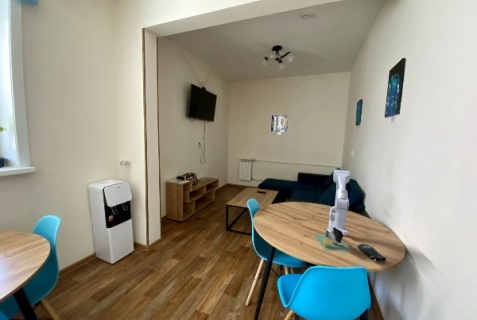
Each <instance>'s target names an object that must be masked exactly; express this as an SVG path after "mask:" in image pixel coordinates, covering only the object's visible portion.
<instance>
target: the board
mask: <svg viewBox="0 0 477 320" xmlns="http://www.w3.org/2000/svg"><path fill="white" fill-rule="evenodd" d="M328 233H329V231H328V230H327V229H325V233H324V234H323V233H313V236H314V237H315V239H316V240H317V241H318V243H319V245H320V246H321V247H322V249H323V250H324V251H326V252H327V251H329V252H338V253H339V252H341V253H354V251H353V250H352V249H351V248H350V247H349V246H348V244H346V243H345V241H343V239H342V240H341V242H342V245H333V244H332V243H331V244H330V248H329V247H324V245H323V239H324V238H329V237H331V236H330V235H329V234H328ZM332 233H333V234H334V231H333V230H332ZM334 235H335V234H334Z"/></svg>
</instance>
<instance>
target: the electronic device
mask: <svg viewBox="0 0 477 320" xmlns="http://www.w3.org/2000/svg"><path fill="white" fill-rule="evenodd" d="M357 248H358V250H359V251H360V252H362V253H363V254H364V255H366V256H367V257H368V258H369V259H370V260H372V258H375V257H377V258H376V261H375V260H374V261H373V262H385V261H386V260H387V257H386V256H383V255H382V254H381V253H380V252H378V251H377V250H376V249H375V248H374V247H373V246H371V245H369V244H366V243H359V244H358V245H357Z"/></svg>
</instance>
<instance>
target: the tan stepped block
mask: <svg viewBox="0 0 477 320" xmlns="http://www.w3.org/2000/svg"><path fill="white" fill-rule="evenodd" d="M331 242H336V241H335V239H329V238H324V239H323V245H324V247H329V248H330V244H331Z"/></svg>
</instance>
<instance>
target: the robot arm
mask: <svg viewBox="0 0 477 320" xmlns="http://www.w3.org/2000/svg"><path fill="white" fill-rule="evenodd" d="M351 174H352V173H351V171H350V170H342V169H341V170H340V169H334V170H333V175H332V176H333V178H332V179H333V182H334V183H335V184H336V188H335V189H336V190H335V200H334V206H332V207H330V209H329V216H328V219H329V220H328V226H327V228H326V230H328V231H329V232H332V230H333V231H334V234H335V240H337V242H341V240H342V241H343V237H344V236H348V231H347V227H346V224H347V223H346V222H347V216H348V215H347V213H348V210H349V206H350V201H349V197H348V190H347V189H346V185H347V184H348V183H349V182H350V180H351Z"/></svg>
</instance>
